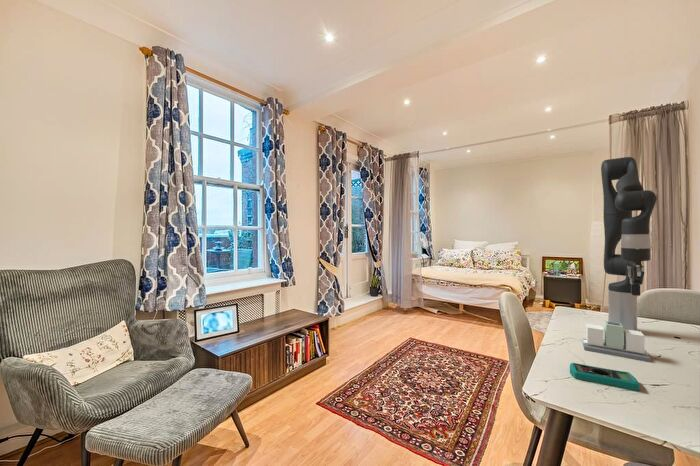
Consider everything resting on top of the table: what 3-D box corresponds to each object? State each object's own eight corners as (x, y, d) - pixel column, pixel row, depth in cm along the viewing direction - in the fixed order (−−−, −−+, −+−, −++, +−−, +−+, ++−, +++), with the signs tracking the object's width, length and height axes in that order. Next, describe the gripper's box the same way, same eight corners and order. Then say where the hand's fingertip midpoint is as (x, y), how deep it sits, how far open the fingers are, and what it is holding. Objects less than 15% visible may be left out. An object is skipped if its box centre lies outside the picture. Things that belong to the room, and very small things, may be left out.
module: (604, 342, 109) (604, 320, 108) (620, 344, 106) (620, 322, 106) (606, 346, 104) (606, 323, 104) (623, 349, 101) (623, 326, 101)
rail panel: (582, 341, 114) (582, 321, 114) (643, 352, 104) (643, 330, 104) (584, 349, 106) (584, 328, 106) (650, 362, 96) (650, 338, 96)
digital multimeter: (568, 369, 92) (568, 360, 92) (631, 381, 84) (631, 371, 84) (572, 380, 85) (572, 370, 85) (640, 393, 78) (640, 382, 78)
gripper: (618, 245, 111) (618, 290, 111) (624, 247, 100) (624, 297, 101) (645, 246, 107) (646, 292, 107) (655, 248, 96) (655, 300, 96)
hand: (635, 295), depth 104 cm, fingers closed
